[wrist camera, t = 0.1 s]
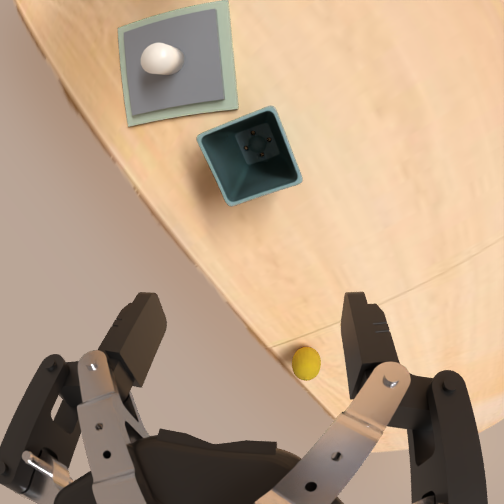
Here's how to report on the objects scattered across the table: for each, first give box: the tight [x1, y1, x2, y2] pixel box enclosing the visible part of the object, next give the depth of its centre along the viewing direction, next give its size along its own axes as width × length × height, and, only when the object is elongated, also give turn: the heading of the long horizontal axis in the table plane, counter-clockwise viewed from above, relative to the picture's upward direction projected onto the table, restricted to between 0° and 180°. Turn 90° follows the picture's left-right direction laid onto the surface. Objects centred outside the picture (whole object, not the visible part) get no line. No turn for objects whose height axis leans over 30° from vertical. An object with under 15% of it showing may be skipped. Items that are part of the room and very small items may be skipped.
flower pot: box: [197, 106, 303, 206], centre depth 32 cm, size 9×9×9 cm
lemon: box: [292, 347, 321, 381], centre depth 51 cm, size 6×6×8 cm
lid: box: [124, 9, 225, 116], centre depth 28 cm, size 13×13×5 cm
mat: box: [118, 0, 239, 127], centre depth 30 cm, size 16×16×1 cm
